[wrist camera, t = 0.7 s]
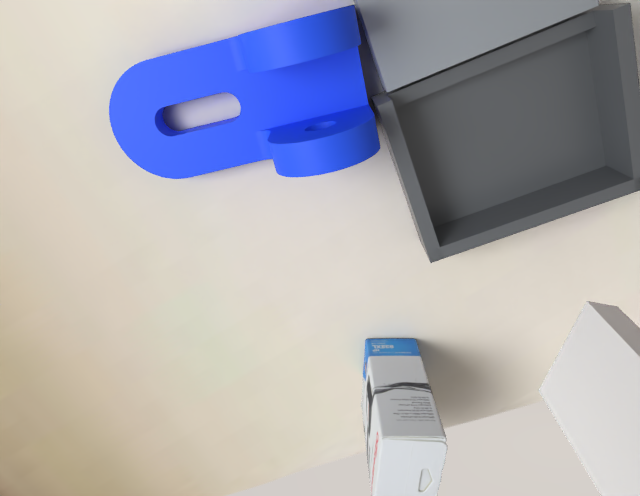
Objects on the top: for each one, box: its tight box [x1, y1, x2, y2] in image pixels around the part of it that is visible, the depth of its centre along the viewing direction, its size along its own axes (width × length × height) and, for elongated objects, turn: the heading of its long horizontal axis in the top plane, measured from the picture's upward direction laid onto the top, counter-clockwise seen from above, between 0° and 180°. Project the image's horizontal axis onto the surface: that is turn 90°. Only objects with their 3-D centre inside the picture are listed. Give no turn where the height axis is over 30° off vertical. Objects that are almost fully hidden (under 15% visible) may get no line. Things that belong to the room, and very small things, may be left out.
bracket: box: [109, 5, 380, 179], centre depth 31 cm, size 18×8×9 cm, turn 103°
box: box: [371, 3, 640, 263], centre depth 34 cm, size 12×16×4 cm
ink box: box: [361, 339, 447, 496], centre depth 40 cm, size 8×5×12 cm, turn 178°
